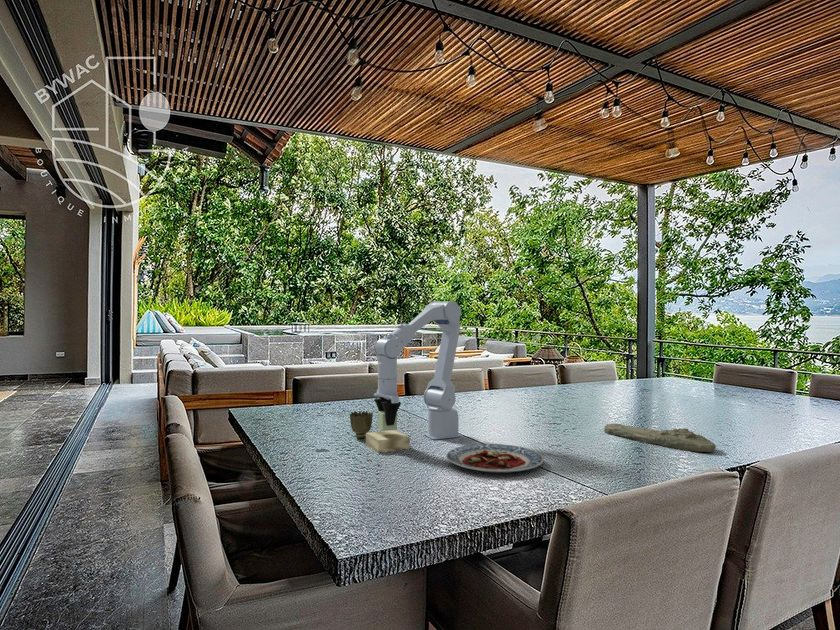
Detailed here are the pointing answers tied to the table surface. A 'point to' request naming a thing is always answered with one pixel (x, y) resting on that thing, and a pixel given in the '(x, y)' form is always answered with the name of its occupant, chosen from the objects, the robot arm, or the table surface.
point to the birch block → (387, 441)
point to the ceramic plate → (495, 458)
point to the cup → (361, 423)
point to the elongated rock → (663, 437)
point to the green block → (382, 422)
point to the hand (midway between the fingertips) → (387, 423)
